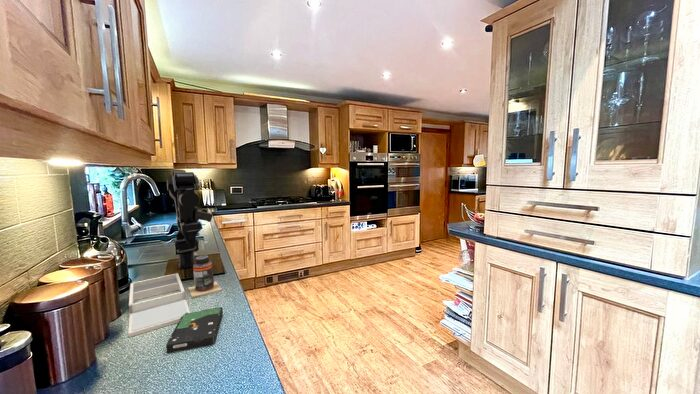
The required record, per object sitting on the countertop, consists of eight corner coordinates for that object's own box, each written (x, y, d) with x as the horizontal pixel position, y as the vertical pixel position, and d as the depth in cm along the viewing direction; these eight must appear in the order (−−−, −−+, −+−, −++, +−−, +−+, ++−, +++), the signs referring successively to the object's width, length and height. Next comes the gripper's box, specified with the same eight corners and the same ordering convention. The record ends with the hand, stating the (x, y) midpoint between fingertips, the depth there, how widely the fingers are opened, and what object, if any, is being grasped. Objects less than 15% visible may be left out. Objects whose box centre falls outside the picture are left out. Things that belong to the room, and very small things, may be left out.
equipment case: (131, 292, 96) (130, 283, 95) (178, 282, 104) (177, 273, 104) (128, 337, 70) (127, 324, 70) (191, 318, 79) (190, 306, 78)
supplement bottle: (205, 283, 101) (202, 253, 99) (218, 285, 99) (215, 255, 97) (191, 290, 95) (188, 258, 94) (204, 293, 93) (201, 260, 92)
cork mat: (188, 289, 98) (188, 287, 98) (216, 282, 103) (215, 280, 103) (192, 298, 91) (192, 296, 90) (221, 290, 96) (221, 289, 96)
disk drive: (215, 346, 67) (223, 314, 81) (214, 336, 67) (222, 306, 81) (166, 356, 64) (183, 321, 78) (165, 345, 64) (182, 312, 78)
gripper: (215, 205, 103) (218, 246, 105) (205, 201, 118) (208, 236, 119) (180, 208, 96) (184, 252, 98) (175, 203, 111) (178, 241, 113)
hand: (190, 244), depth 107 cm, fingers open, 9 cm apart
